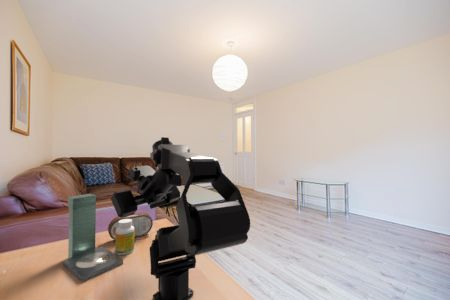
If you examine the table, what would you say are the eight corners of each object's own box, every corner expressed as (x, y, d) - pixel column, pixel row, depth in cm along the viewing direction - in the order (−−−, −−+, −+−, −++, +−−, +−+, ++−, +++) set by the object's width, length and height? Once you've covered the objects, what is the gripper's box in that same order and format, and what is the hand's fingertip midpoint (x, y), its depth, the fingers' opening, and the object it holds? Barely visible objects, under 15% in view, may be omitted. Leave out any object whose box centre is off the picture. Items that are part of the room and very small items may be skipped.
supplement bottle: (126, 256, 60) (127, 224, 60) (111, 254, 61) (111, 223, 62) (137, 248, 66) (138, 218, 66) (123, 246, 67) (123, 217, 67)
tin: (151, 231, 79) (151, 210, 79) (153, 234, 77) (153, 212, 77) (107, 240, 71) (107, 217, 71) (108, 244, 68) (108, 219, 68)
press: (123, 263, 57) (123, 200, 57) (82, 282, 48) (83, 208, 49) (88, 241, 70) (88, 190, 70) (51, 252, 62) (52, 195, 62)
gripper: (175, 155, 63) (152, 184, 70) (114, 159, 47) (93, 195, 54) (192, 184, 59) (166, 211, 66) (133, 199, 43) (107, 232, 50)
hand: (137, 211), depth 59 cm, fingers open, 9 cm apart
